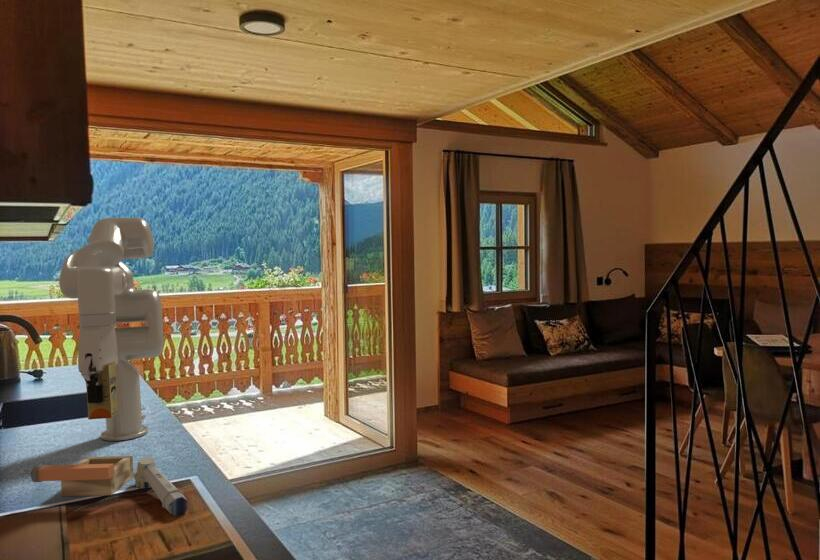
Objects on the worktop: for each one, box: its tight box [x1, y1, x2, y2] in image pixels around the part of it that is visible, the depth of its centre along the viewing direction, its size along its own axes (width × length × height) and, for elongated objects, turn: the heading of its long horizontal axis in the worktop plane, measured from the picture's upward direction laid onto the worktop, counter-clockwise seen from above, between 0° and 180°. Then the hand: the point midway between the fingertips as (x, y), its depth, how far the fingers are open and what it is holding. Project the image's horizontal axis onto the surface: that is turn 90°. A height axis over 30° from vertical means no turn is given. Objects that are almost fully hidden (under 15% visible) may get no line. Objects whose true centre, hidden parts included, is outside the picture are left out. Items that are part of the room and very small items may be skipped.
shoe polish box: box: [85, 362, 118, 420], centre depth 144 cm, size 5×5×12 cm
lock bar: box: [30, 464, 114, 483], centre depth 134 cm, size 4×16×4 cm, turn 90°
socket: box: [60, 455, 135, 497], centre depth 143 cm, size 11×11×5 cm
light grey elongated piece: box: [133, 456, 189, 517], centre depth 136 cm, size 5×7×25 cm
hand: (102, 398), depth 144 cm, fingers closed on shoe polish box, 5 cm apart
